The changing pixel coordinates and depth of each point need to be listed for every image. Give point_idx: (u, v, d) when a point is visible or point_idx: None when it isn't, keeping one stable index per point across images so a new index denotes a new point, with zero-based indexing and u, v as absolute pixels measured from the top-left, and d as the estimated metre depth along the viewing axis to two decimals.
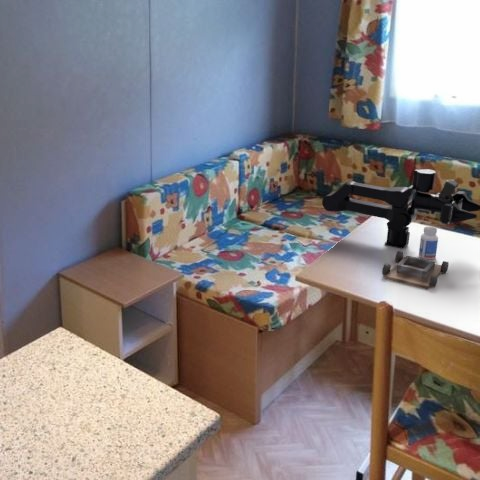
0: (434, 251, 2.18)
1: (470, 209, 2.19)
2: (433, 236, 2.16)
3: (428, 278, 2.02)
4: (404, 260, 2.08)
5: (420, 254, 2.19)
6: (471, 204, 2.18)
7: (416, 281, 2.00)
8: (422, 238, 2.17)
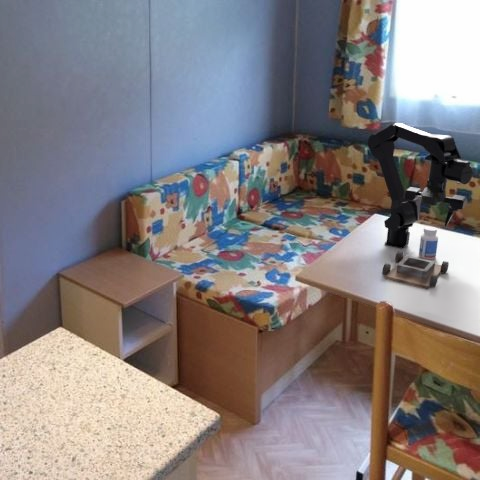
0: (434, 251, 2.18)
1: None
2: (433, 236, 2.16)
3: (428, 278, 2.02)
4: (404, 260, 2.08)
5: (420, 254, 2.19)
6: None
7: (416, 281, 2.00)
8: (422, 238, 2.17)
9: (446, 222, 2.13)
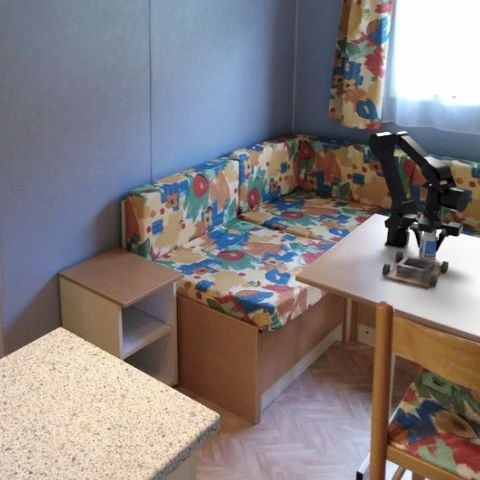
0: (434, 251, 2.18)
1: None
2: (433, 236, 2.16)
3: (428, 278, 2.02)
4: (404, 260, 2.08)
5: (420, 254, 2.19)
6: None
7: (416, 281, 2.00)
8: (422, 238, 2.17)
9: (437, 247, 2.17)
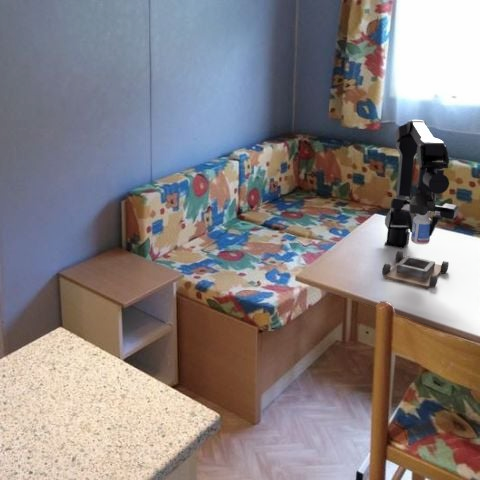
0: (427, 235, 2.00)
1: None
2: (426, 219, 1.99)
3: (428, 278, 2.02)
4: (404, 260, 2.08)
5: (412, 239, 2.02)
6: (432, 223, 2.00)
7: (416, 281, 2.00)
8: (414, 221, 2.00)
9: (430, 231, 2.00)
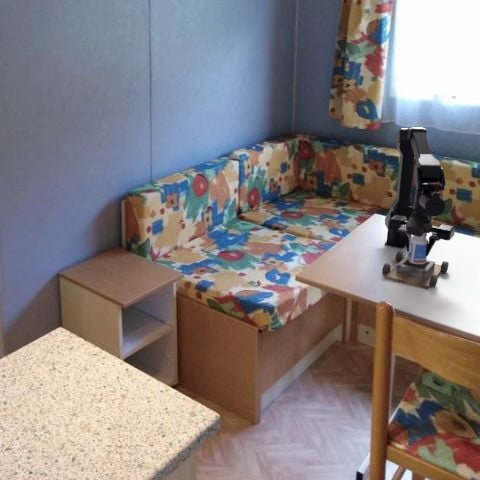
0: (424, 255, 2.03)
1: None
2: (423, 239, 2.01)
3: (428, 278, 2.02)
4: (404, 260, 2.08)
5: (409, 259, 2.05)
6: None
7: (416, 281, 2.00)
8: (411, 242, 2.03)
9: (427, 252, 2.02)
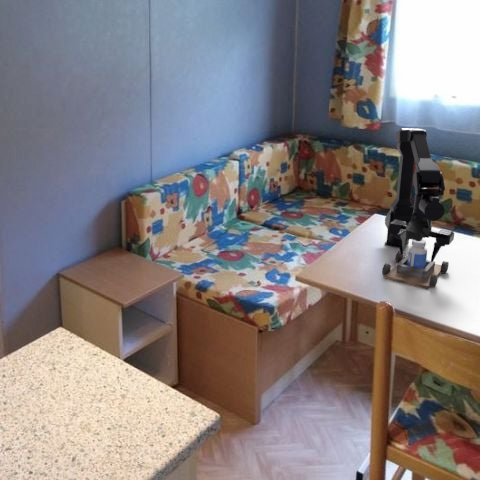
0: (423, 265, 2.04)
1: None
2: (422, 249, 2.03)
3: (428, 278, 2.02)
4: (404, 260, 2.08)
5: None
6: None
7: (416, 281, 2.00)
8: (410, 251, 2.04)
9: (432, 257, 2.02)
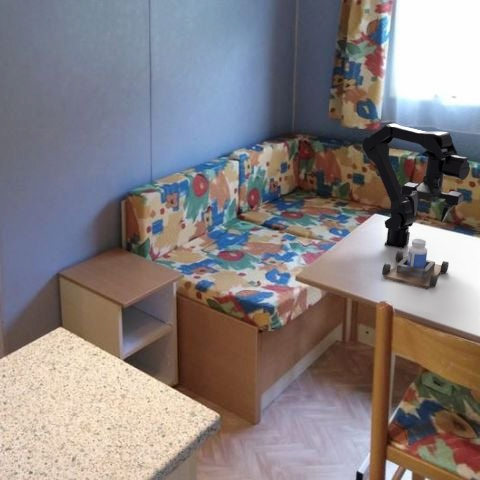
0: (423, 265, 2.04)
1: None
2: (422, 249, 2.03)
3: (428, 278, 2.02)
4: (404, 260, 2.08)
5: None
6: None
7: (416, 281, 2.00)
8: (410, 251, 2.04)
9: (442, 218, 2.14)
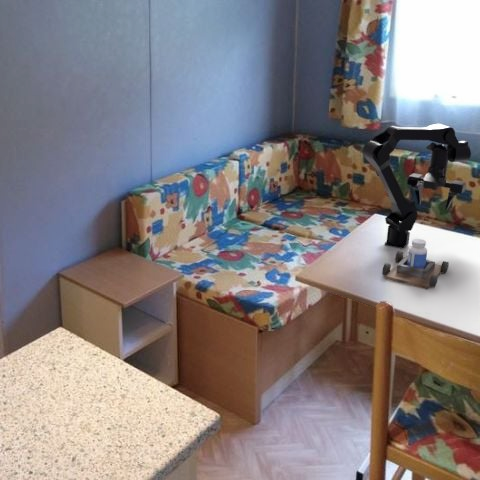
0: (423, 265, 2.04)
1: None
2: (422, 249, 2.03)
3: (428, 278, 2.02)
4: (404, 260, 2.08)
5: None
6: (448, 199, 2.26)
7: (416, 281, 2.00)
8: (410, 251, 2.04)
9: (446, 206, 2.27)
